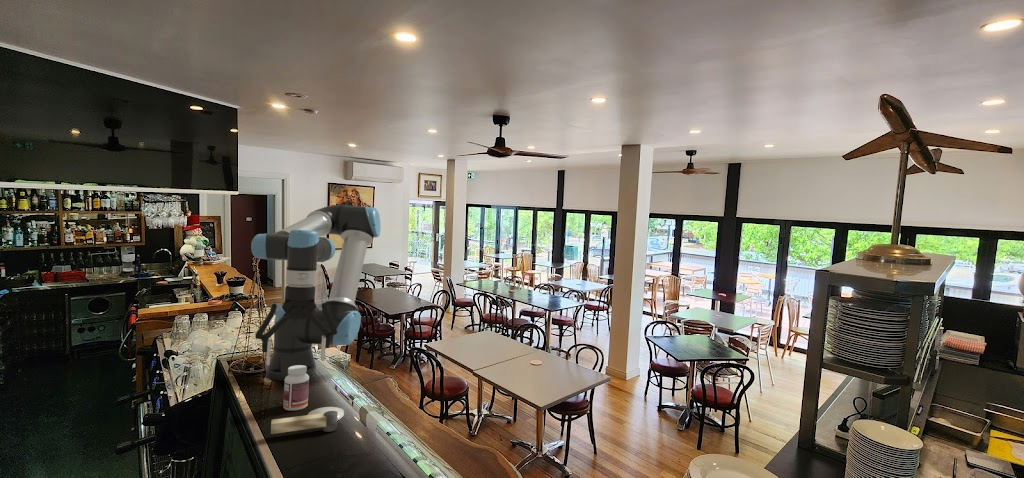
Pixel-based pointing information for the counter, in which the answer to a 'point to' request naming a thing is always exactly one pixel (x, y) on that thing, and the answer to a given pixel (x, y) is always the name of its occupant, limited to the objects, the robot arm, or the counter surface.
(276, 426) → the hinged leg
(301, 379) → the pill bottle
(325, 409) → the seat pad
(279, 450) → the counter surface
